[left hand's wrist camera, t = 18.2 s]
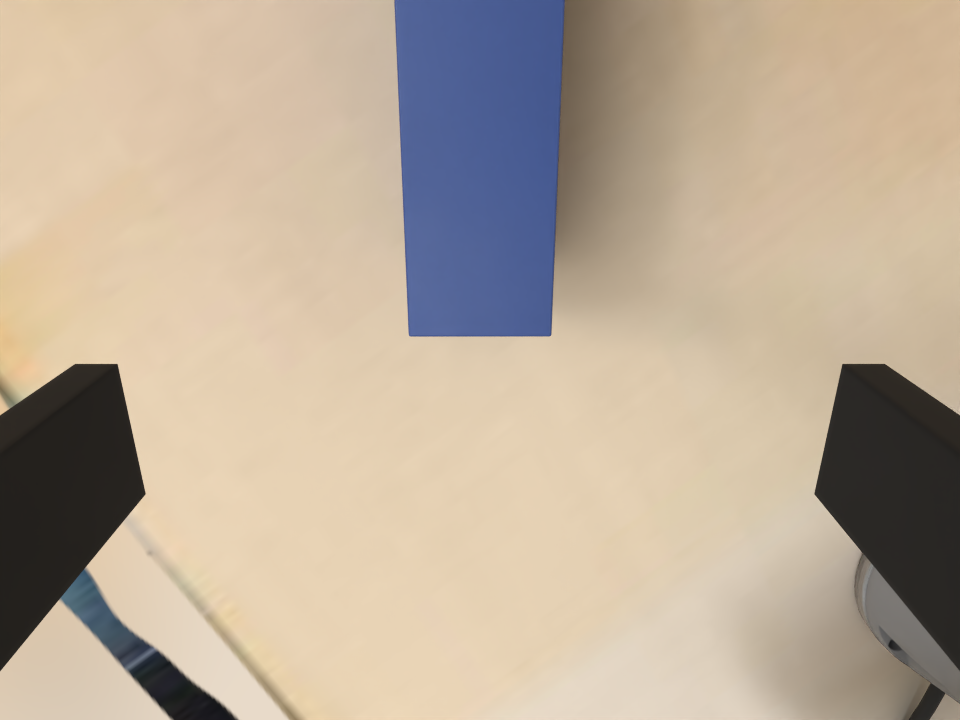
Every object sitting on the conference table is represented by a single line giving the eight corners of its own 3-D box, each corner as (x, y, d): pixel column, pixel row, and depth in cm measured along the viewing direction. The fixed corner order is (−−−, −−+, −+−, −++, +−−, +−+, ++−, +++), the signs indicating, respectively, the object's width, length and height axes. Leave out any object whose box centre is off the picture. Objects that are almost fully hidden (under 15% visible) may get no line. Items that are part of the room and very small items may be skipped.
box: (531, 267, 39) (551, 336, 28) (428, 267, 39) (408, 337, 28) (545, -235, 30) (581, -411, 20) (413, -235, 30) (376, -411, 20)
